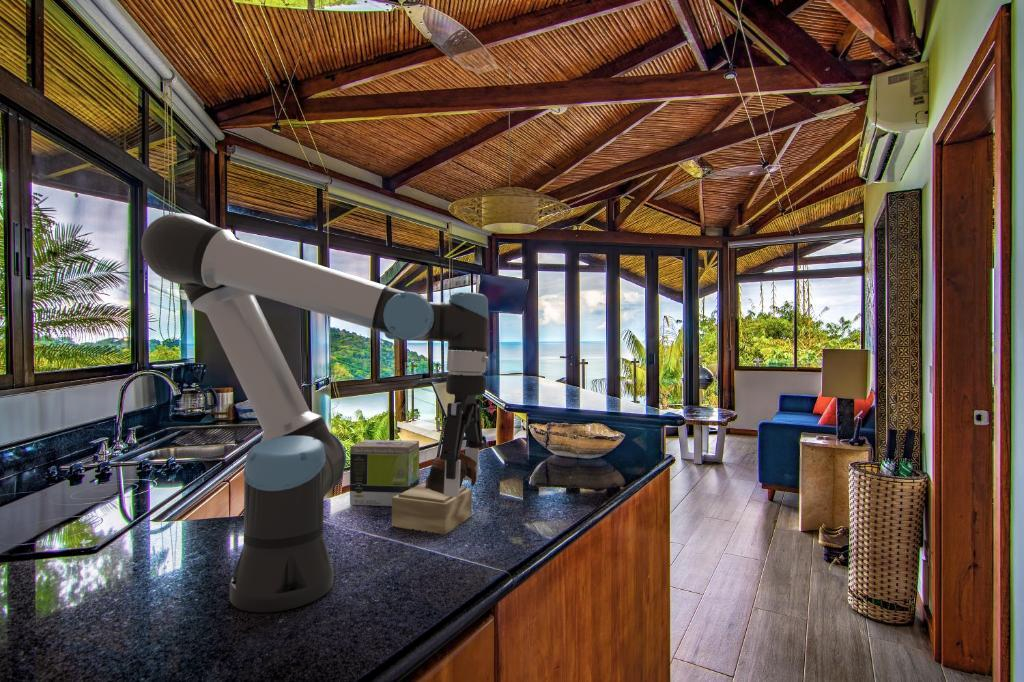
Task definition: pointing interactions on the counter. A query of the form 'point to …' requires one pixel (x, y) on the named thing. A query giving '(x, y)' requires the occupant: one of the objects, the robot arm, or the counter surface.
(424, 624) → the counter surface
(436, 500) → the wooden box
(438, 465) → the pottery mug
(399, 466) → the tea box
